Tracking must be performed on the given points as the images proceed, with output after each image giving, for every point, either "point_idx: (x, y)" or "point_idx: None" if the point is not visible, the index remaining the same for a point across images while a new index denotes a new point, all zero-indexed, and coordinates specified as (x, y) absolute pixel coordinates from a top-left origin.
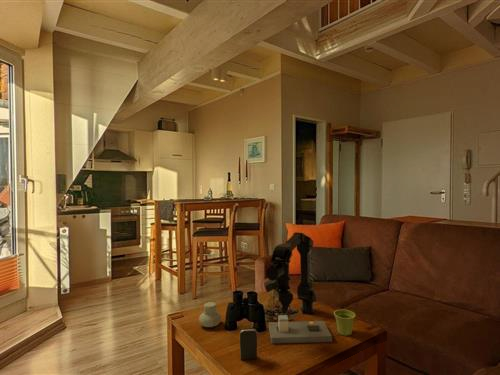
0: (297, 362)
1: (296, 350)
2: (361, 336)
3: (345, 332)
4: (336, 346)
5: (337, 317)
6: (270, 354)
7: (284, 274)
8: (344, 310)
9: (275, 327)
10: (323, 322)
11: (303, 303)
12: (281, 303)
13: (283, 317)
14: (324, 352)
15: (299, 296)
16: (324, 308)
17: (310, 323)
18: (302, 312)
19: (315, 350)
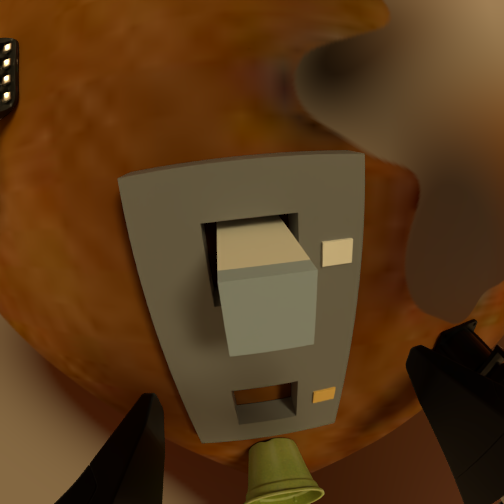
0: (20, 302)
1: (93, 309)
2: (248, 467)
3: (249, 459)
4: (172, 429)
5: (264, 493)
6: (32, 179)
7: None
8: (317, 496)
9: (282, 204)
10: (320, 424)
11: (471, 358)
12: (416, 360)
13: (265, 319)
14: (118, 397)
15: (497, 367)
16: None
17: (315, 393)
18: (446, 333)
19: (120, 376)
